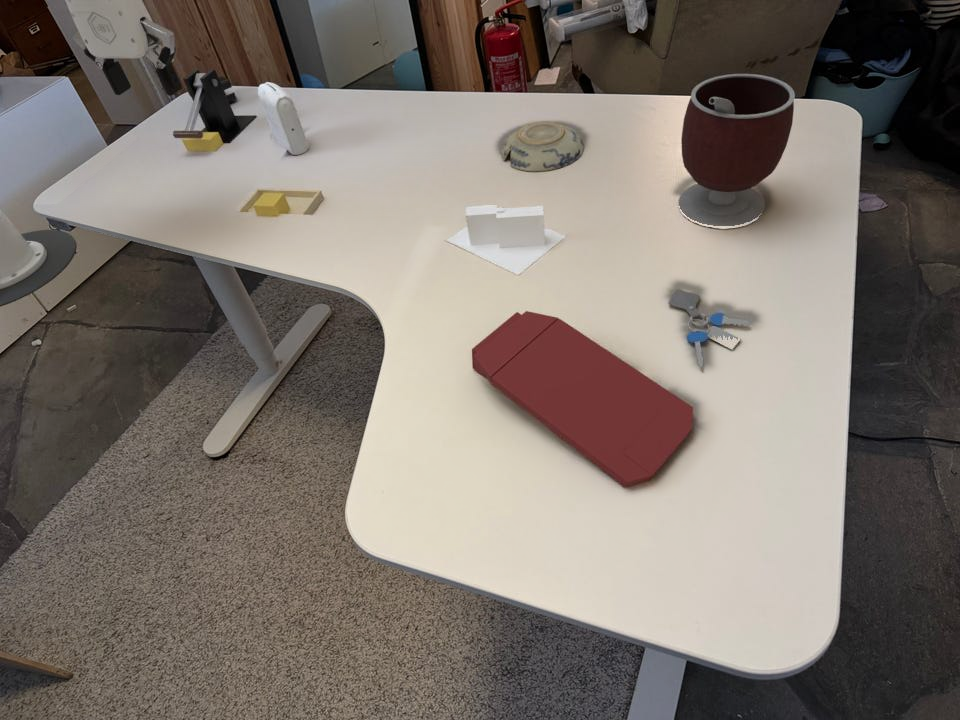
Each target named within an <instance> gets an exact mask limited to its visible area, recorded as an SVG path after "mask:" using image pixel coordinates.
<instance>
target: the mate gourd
mask: <svg viewBox="0 0 960 720" xmlns="http://www.w3.org/2000/svg"><path fill="white" fill-rule="evenodd" d="M795 98H796V94H795V90H794V89H793V88H792V87H791V86H790V85H789V84H788V83H786V82H784V81H783V80H780V79H778V78H775V77H773V76H767V75H763V74H755V73H732V74H724V75H723V74H722V75H717V76H714V77H710V78H708V79H706V80H704V81H702V82H700V83H698V84H697V85H696V86H694V88H693V89H692V90H691V93H690V99H689V101H688V103H687V106H686V109H685V113H684V117H683V123H682V132H681V157H682V164H683V167H684V168H685V170H686V171H687V173H688V174H689V176H690V177H691V178H692V179H693V181H694V182H695V184H692V185H691V186H689V187H687V188H686V189H685V190H684V191H682V193H681V194H680V196H679V199H678V205H679V206H680V209H681V210H682V212H683V213H684V214H685V215H686V216H687V217H689V218H690V219H692V220H694V221H697V222H699V223H702V224H707V225H713V226H735V225H740V224H744V223H746V222H750V221H752V220H753V219H755V218H757V217H758V216H759V215H760V214H761V213H762V212H763V213H764V210H765V207H766V206H765V205H766V203H765V200H764V198H763V196H762V195H761V194H760V192H758V191H757V190H755V189H754V187H756V186H758V185H759V184H760V183H762V181H764V180H765V179H767V178H768V177H769V176H771V175H772V174H773V173H774V171H775V170H776V168H777V167H778V165H779V164H780V162H781V159H782V158H783V155H784V152H785V150H786V148H787V146H788V142H789V138H790V135H791V130H792V126H793V120H794V110H795V107H794V106H795V101H794V100H795Z"/></svg>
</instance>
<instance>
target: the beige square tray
mask: <svg viewBox="0 0 960 720" xmlns="http://www.w3.org/2000/svg"><path fill="white" fill-rule="evenodd" d="M263 193H284V195H285V197H286V200H287V202H288V205H289V207H290V210H289V212H288V213H287V214H286V215H299V216H300V215H303V216H312V215H313V213H314V212H315V211H316V210H317V208H318V207H319V205H320V204H321V203H322V201H323V200H324V194H323V192H322V190H321V189H293V188H292V189H288V188H287V189H286V188H284V189H283V188H256V189H255V190H254V191H253V193H251V195H250V196H249V197H248V198H247V200H245V201H244V203H243V204H242V205H241V207H240V208H239V209H238V210H237V211H236V212H237V213H253V214H254V213H255V214H256V212H255V209H254V207H253V205H254V204H255V202H256V201H257V200H258V199H259V198H260V197H261V195H262V194H263Z"/></svg>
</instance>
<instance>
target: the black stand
mask: <svg viewBox="0 0 960 720" xmlns="http://www.w3.org/2000/svg"><path fill="white" fill-rule="evenodd" d="M197 73H201V72H200V70H199V69H194V70H192V72H190V73H189V74H188V75H186V76H185V77H183V79H182V80H183V83H184V84H185V87H186V90H187V89H188V91H189V93H190V95H191V96H190V95H189V96H190V98H191V100H192V102H193V101H194V98H195V95H196V91H197V89H196V88H195V87H194V86H193V84H194V80H195V77H196V74H197ZM205 73H206V74H205V75H204V76H202V77H201V78H200V80H201V83H202V85H203V87H204V89H205V92H206V93H204V96H203V99H202V102H201V106H200V109H199V113H198V115H199V116H200V118H201V119H200V120H201V121H202V123H203V125H204V128H202V130H200V131H201V132H218V133H219V135H220V137H221V139H222V142H223V144H231V143H232V142H233V141H234V140H235V139H236V138H237V137H238V136H239V135H240V134H241V133H243V131H244V130H245V129H247V128H248V126H249V125H250V124H251V123H253V121H255V120H256V119H257V117H258V115H254V114H253V115H251V114H250V115H241V114H240V115H235V113H234V111H233V108H232V106H231V104H230V103H229V101H228V99H227V96H226V95H227V94H226V91H225V90H224V89H223V87H222V85H221V82H220V80H219V78H220V77H219V75H218V72H217V71H216V69H210V70H209V71H208V72H205ZM188 91H187V92H188ZM189 93H188V94H189Z"/></svg>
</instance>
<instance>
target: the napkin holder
mask: <svg viewBox="0 0 960 720" xmlns="http://www.w3.org/2000/svg"><path fill="white" fill-rule="evenodd" d="M544 209H545V208H544V205H537V206H522V207H521V206H520V207H507V208H505V207H498V204H488V205H487V204H485V205H471V206H466V211H465V219H466V221H465V222H466V226H465V227H463V228H462V229H461V230H459V231H458V232H456V233H455V234H454V235H452V236H451V237H449V238H448V239H447V240H446V242H449V243H450V244H452V245H455V246H456V247H459V248H461V249H463V250H465V251H467V252H469V253H471V254H473V255H475V256H477V257H480V258H482V259H484V260H486V261H488V262H489V263H492V264H494V265H495V266H499V267H500V268H502V269H504V270H506V271H508V272H511V273H512V274H515V275H517V276H519V275H520V274H522V273H523V272H524V271H526V270H527V269H528V268H529V267H530V266H532V265H533V264H534V263H536V261H537V260H539V259H541V258H542V257H543V256H544V255H545V254H546V253H547V252H549V251H551V249H553V248H554V247H555V246H556V245H558V244H559V243H560V242H561V241H562V240H564V239H565V238H566V237H567V235H563V234H561V233H560V232H556V231H554V230H551V229H549V228H546V227H545V212H544V211H545V210H544Z"/></svg>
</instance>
